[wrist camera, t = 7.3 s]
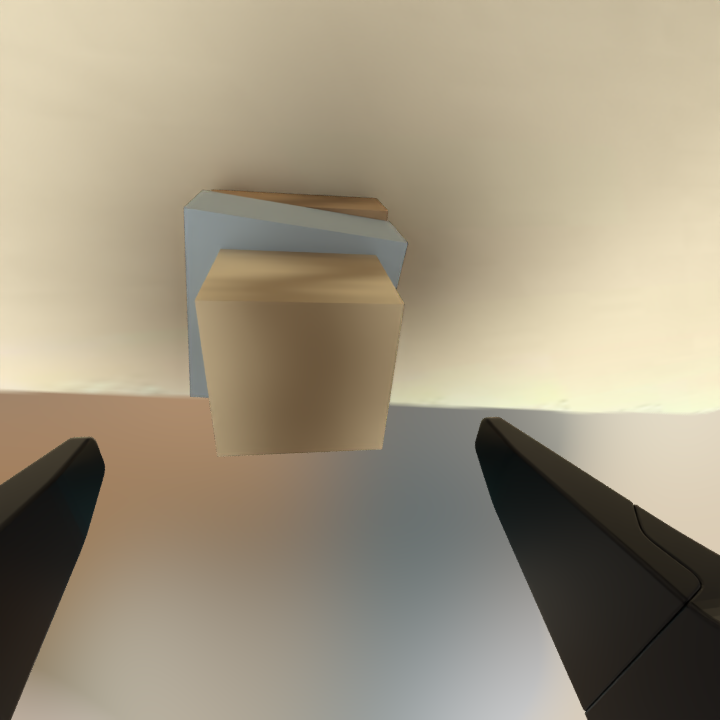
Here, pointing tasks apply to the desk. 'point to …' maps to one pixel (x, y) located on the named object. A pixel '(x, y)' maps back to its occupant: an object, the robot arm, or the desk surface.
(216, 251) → the slate block
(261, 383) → the oak block
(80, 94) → the desk surface
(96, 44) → the desk surface
